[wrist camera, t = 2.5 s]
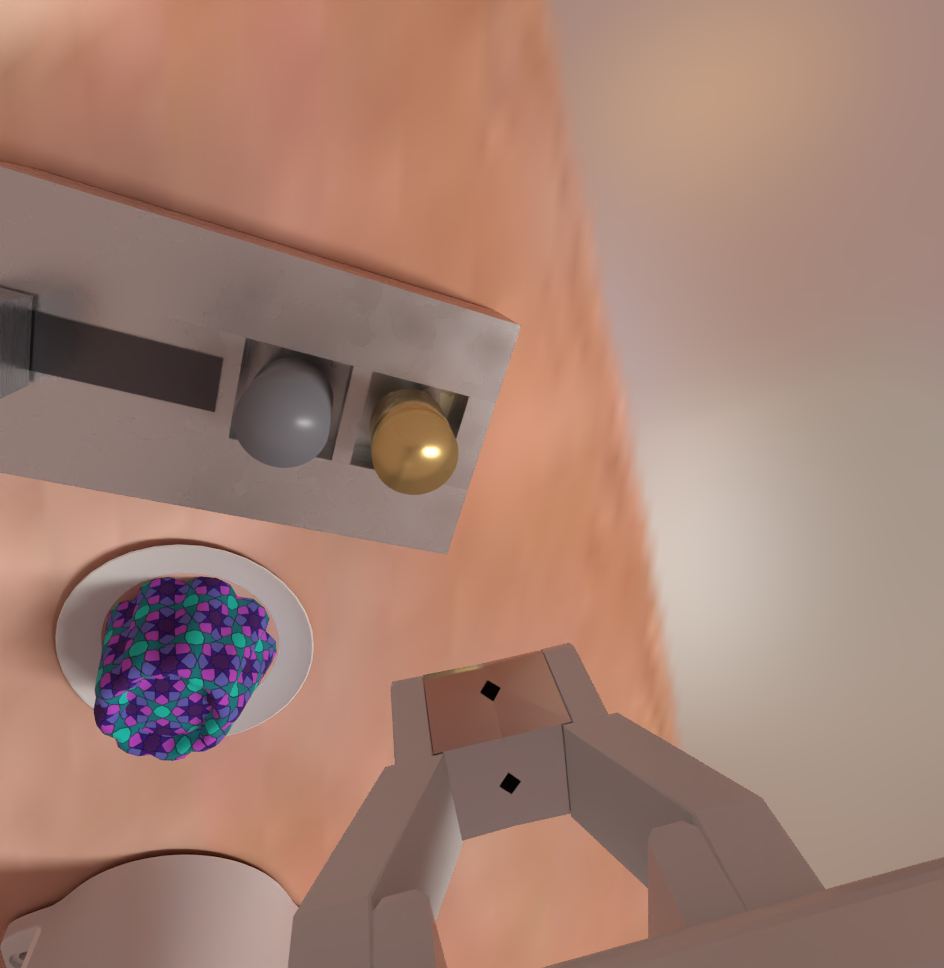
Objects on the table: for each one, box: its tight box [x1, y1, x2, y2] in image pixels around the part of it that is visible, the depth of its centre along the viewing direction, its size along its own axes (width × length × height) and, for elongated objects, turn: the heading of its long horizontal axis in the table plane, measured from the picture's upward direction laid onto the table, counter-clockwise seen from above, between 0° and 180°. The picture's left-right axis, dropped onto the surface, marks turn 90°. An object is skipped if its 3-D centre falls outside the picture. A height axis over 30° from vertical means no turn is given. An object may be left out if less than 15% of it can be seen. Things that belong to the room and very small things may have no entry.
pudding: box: [55, 544, 314, 761], centre depth 28 cm, size 12×12×5 cm
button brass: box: [370, 388, 459, 495], centre depth 22 cm, size 3×3×4 cm
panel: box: [0, 162, 521, 554], centre depth 23 cm, size 10×18×5 cm, turn 73°
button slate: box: [233, 358, 333, 468], centre depth 21 cm, size 3×3×4 cm
